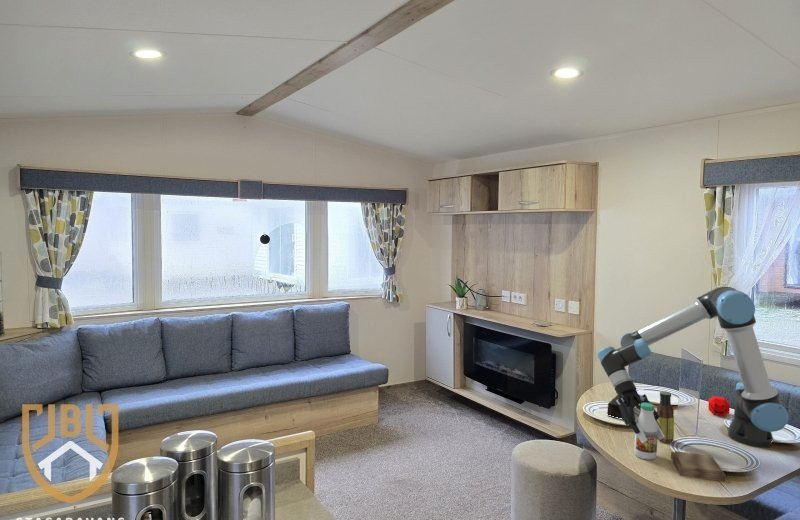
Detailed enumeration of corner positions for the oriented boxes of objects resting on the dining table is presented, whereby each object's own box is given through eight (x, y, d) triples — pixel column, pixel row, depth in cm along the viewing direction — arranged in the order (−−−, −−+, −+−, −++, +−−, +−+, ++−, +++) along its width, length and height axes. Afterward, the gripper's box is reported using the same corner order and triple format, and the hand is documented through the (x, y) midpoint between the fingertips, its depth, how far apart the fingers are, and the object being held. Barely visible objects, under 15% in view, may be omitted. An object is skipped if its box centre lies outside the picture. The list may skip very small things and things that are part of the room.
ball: (708, 415, 233) (709, 399, 232) (707, 409, 240) (708, 393, 239) (729, 419, 229) (730, 402, 228) (728, 413, 236) (729, 396, 235)
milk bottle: (629, 452, 197) (631, 402, 195) (644, 449, 200) (647, 399, 198) (645, 461, 190) (647, 409, 188) (661, 458, 193) (663, 406, 191)
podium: (712, 462, 190) (712, 454, 190) (725, 481, 176) (725, 472, 176) (670, 457, 194) (670, 449, 193) (680, 475, 180) (680, 467, 180)
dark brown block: (636, 408, 242) (637, 394, 241) (624, 421, 227) (625, 407, 226) (618, 404, 247) (619, 391, 246) (606, 416, 232) (606, 402, 231)
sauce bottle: (671, 438, 210) (673, 390, 208) (675, 444, 204) (677, 396, 202) (653, 436, 212) (656, 389, 210) (657, 442, 206) (659, 394, 204)
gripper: (637, 385, 211) (668, 439, 197) (597, 391, 204) (625, 448, 190) (648, 376, 205) (680, 432, 192) (607, 382, 198) (637, 440, 185)
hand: (653, 439), depth 191 cm, fingers closed on milk bottle, 8 cm apart
